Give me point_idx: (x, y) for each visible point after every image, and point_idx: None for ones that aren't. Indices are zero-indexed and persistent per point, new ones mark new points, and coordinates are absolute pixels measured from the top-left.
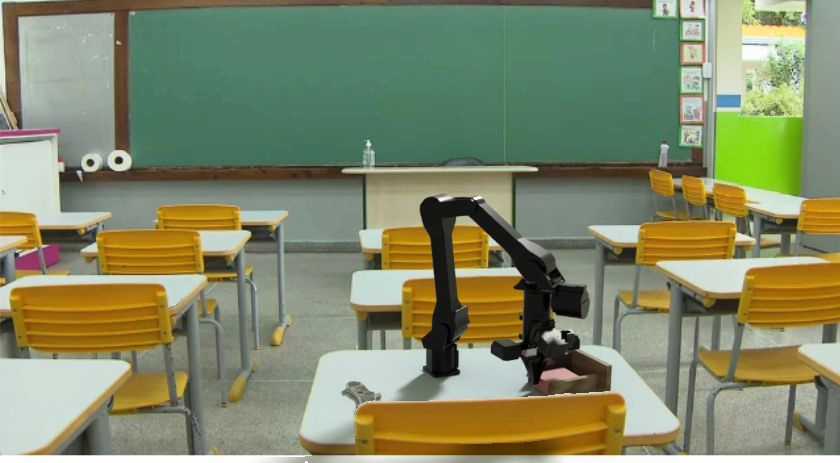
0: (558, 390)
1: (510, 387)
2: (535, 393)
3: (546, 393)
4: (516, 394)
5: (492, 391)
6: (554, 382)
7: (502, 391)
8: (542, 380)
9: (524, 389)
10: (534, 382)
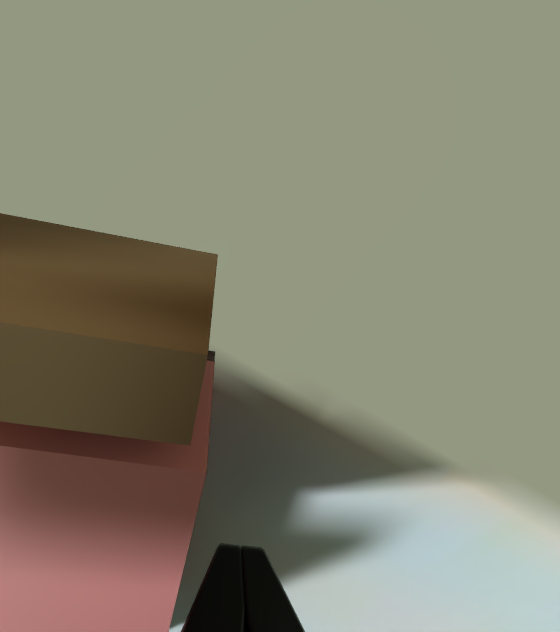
0: (128, 276)
1: (363, 623)
2: (293, 448)
3: (211, 381)
4: (454, 514)
5: (536, 628)
6: (159, 393)
7: (482, 600)
8: (181, 560)
9: (302, 552)
10: (273, 573)
